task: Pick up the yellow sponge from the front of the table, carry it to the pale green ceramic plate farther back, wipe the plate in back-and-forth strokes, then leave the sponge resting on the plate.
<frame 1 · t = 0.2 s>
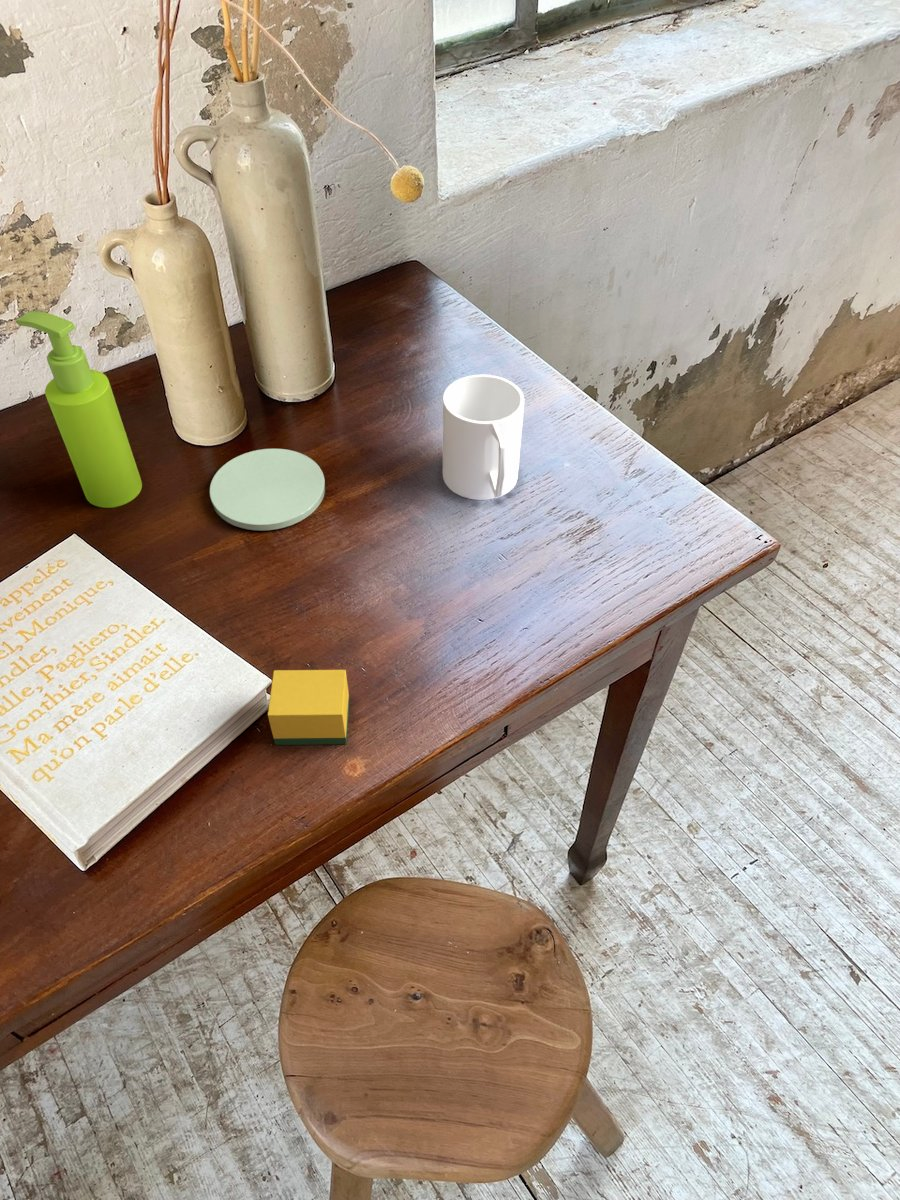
cup: (484, 487, 97), on the table
plate: (268, 493, 96), on the table
soap dispenser: (110, 489, 96), on the table
sponge: (313, 722, 77), on the table
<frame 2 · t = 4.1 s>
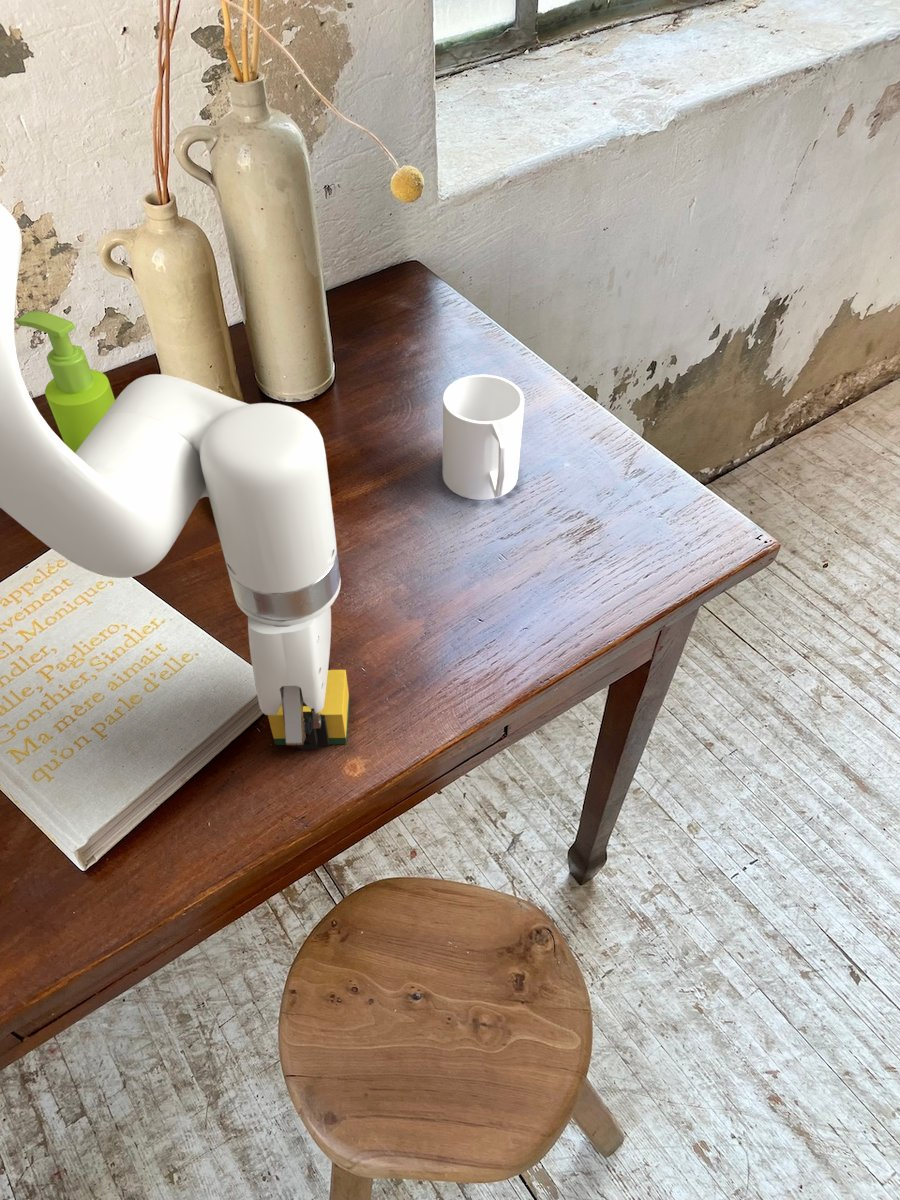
hand: (312, 716, 76), 1 cm above the table, tool pointing down, fingers closed on sponge, 4 cm apart
sponge: (313, 722, 77), on the table, touching gripper
everything else where it was.
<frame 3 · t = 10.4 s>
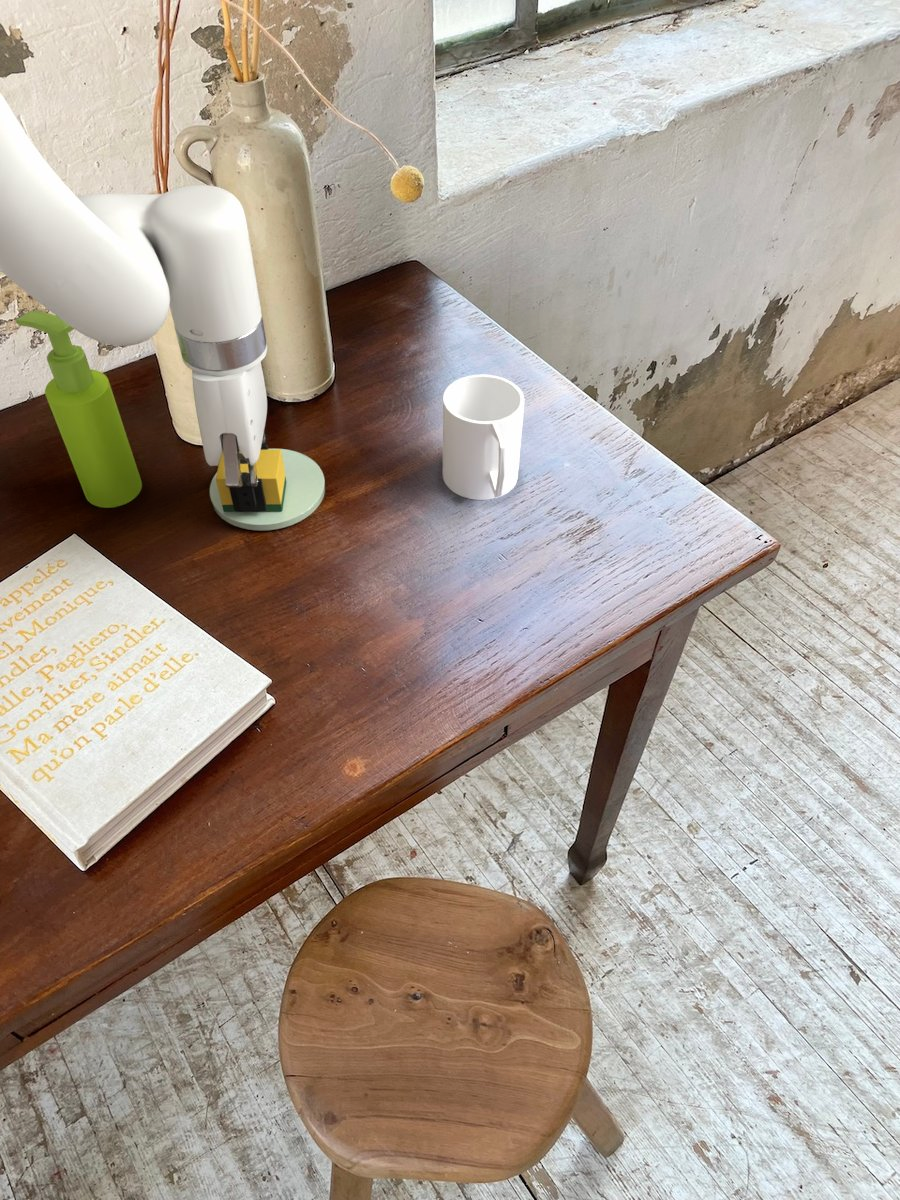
hand: (253, 490, 93), 2 cm above the table, tool pointing down, fingers closed on sponge, 4 cm apart
sponge: (255, 497, 94), point 1 cm above the table, touching gripper
everything else where it was.
when the fingers open (2 cm above the table, at t = 16.8 s): sponge stays where it is, resting on plate.
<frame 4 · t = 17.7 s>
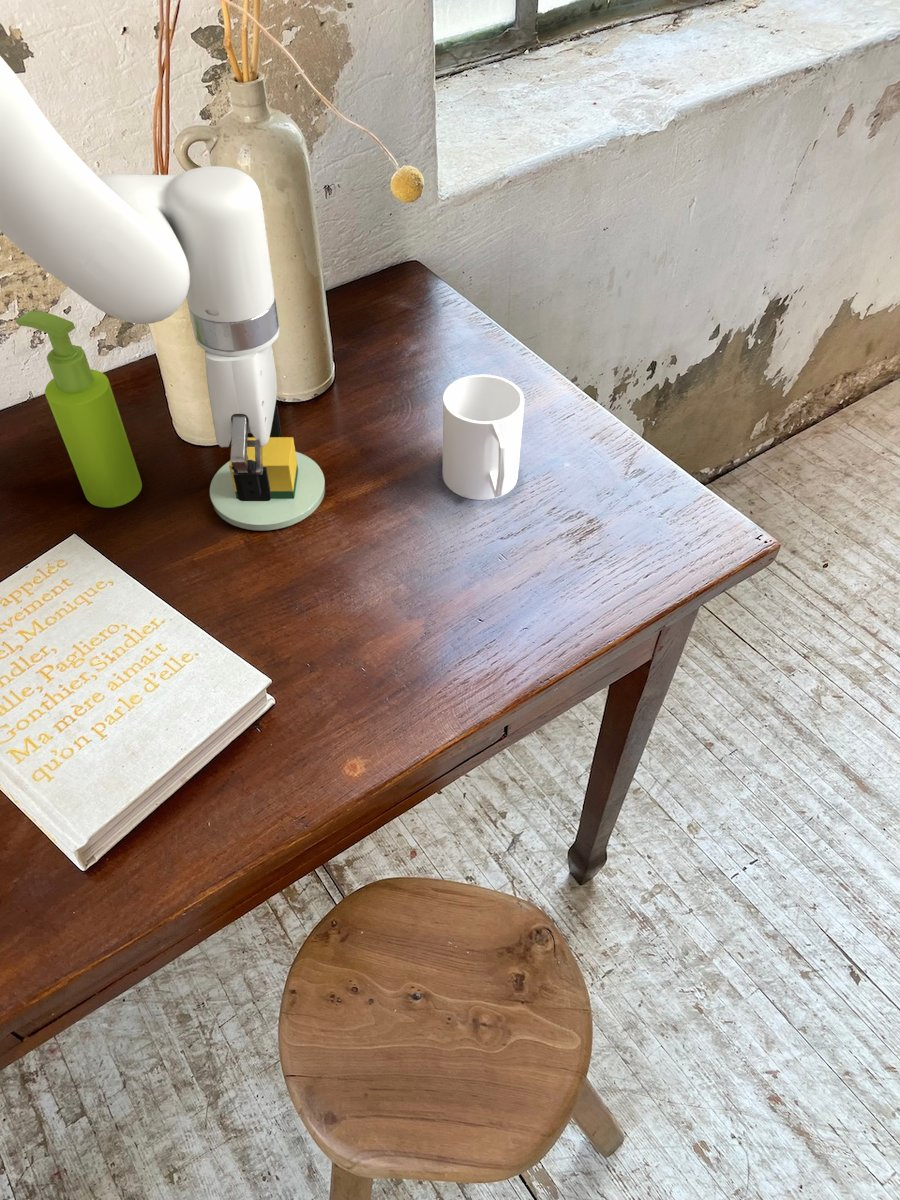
hand: (261, 467, 93), 4 cm above the table, tool pointing down, fingers open, 9 cm apart
sponge: (267, 484, 95), point 1 cm above the table, touching plate
everything else where it was.
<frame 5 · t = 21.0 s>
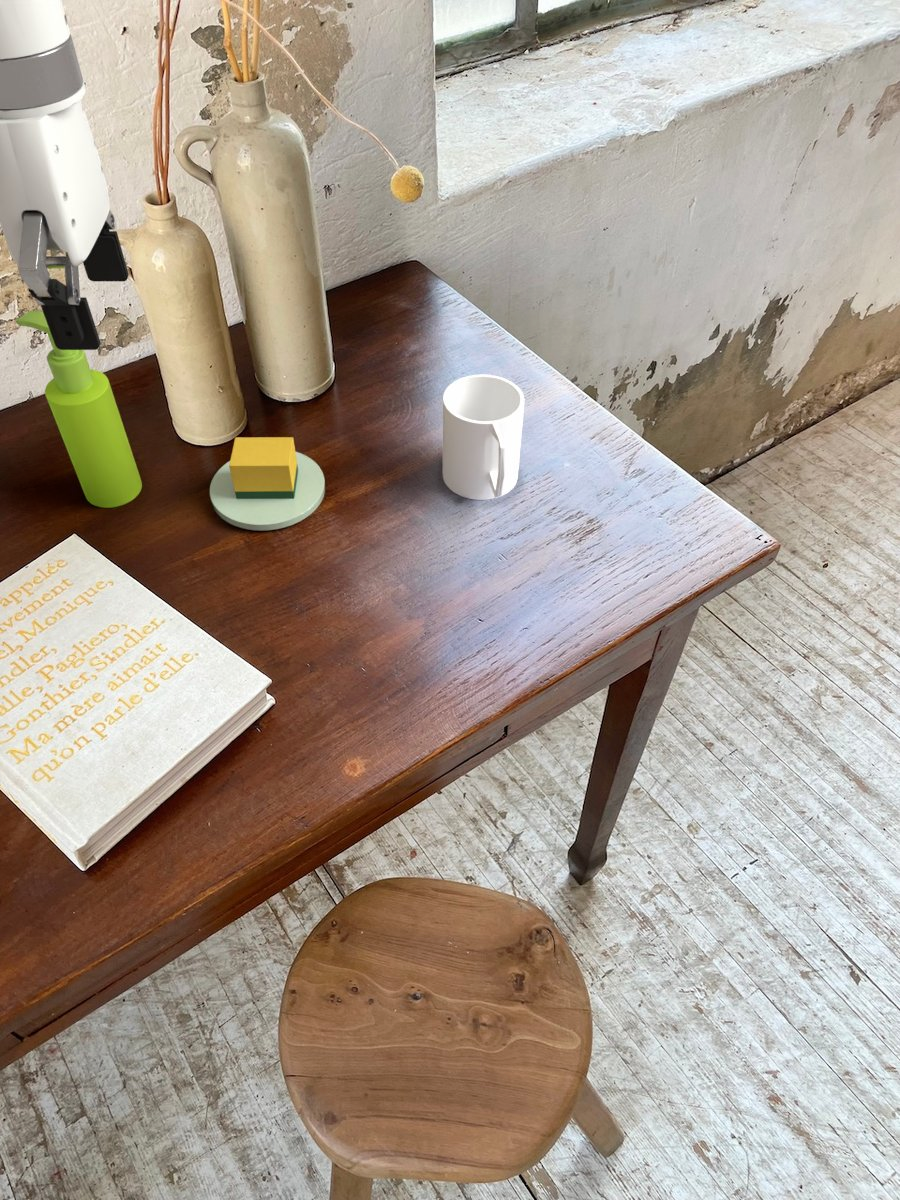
hand: (95, 312, 71), 26 cm above the table, tool pointing down, fingers open, 9 cm apart
nothing on the table moved.
at the end: sponge inside the target area on the plate (0.0 cm from its centre), point 1.2 cm above the plate's base; sponge moved 29.9 cm from its start; the gripper is holding nothing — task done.
